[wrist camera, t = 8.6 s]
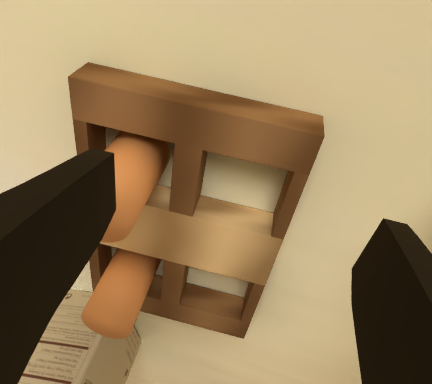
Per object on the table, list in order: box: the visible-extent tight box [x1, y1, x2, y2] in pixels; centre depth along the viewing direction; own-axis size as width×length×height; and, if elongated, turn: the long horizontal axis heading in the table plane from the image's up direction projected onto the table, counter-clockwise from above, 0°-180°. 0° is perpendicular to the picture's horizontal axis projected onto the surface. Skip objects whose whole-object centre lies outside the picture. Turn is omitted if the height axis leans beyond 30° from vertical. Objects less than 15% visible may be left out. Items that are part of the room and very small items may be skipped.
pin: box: [81, 248, 161, 339], centre depth 24 cm, size 3×3×6 cm
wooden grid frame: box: [68, 62, 324, 339], centre depth 23 cm, size 12×18×2 cm, turn 171°
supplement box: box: [18, 290, 141, 384], centre depth 29 cm, size 7×7×13 cm
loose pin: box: [101, 131, 170, 243], centre depth 18 cm, size 3×3×6 cm
